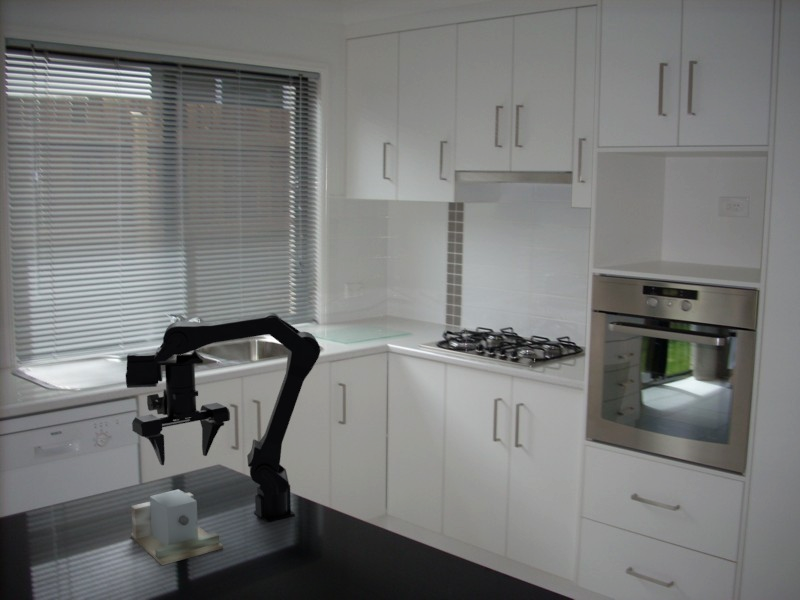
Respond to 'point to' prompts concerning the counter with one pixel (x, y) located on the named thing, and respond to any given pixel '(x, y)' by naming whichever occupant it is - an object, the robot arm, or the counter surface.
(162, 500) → the cabinet block
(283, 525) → the counter surface
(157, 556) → the cleat board
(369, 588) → the counter surface
